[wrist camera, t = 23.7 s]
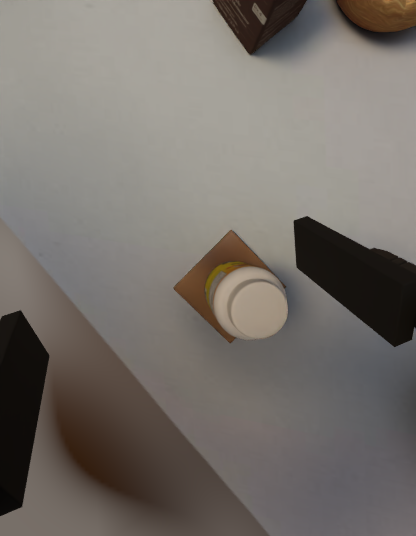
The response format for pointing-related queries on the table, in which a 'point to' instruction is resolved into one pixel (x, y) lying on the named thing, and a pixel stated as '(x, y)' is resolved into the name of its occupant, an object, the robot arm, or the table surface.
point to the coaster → (196, 277)
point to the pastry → (380, 14)
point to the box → (258, 18)
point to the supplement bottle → (246, 300)
